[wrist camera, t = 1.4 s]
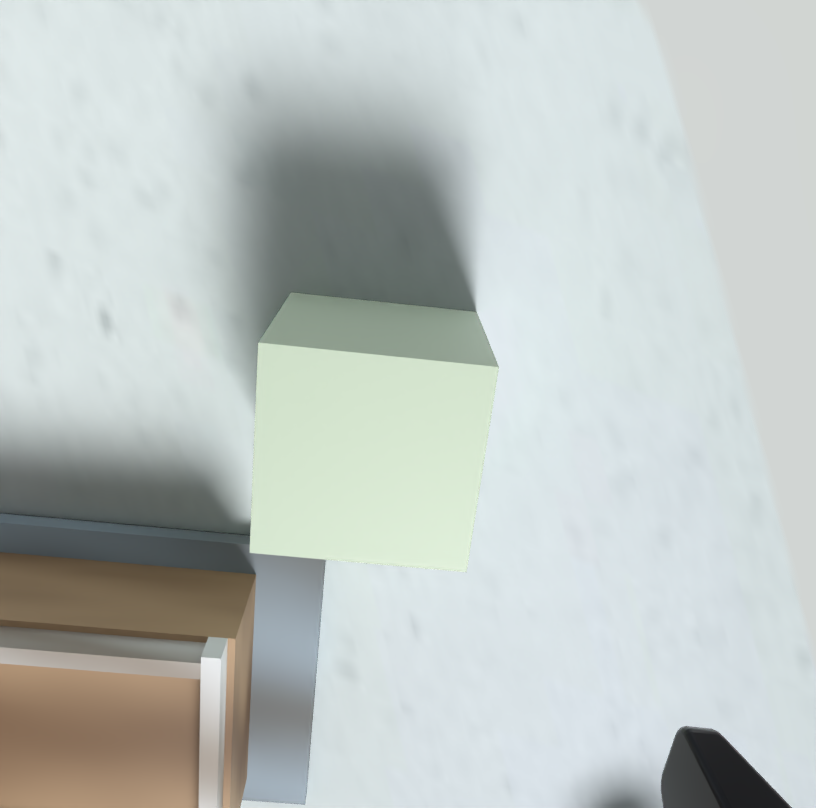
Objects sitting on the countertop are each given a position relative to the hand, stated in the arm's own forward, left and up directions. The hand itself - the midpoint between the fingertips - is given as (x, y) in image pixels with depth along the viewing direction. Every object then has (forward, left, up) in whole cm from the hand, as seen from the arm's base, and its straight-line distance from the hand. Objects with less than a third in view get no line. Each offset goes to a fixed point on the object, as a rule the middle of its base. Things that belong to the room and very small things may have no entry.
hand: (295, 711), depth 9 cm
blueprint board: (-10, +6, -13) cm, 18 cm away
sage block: (0, -1, -13) cm, 13 cm away
